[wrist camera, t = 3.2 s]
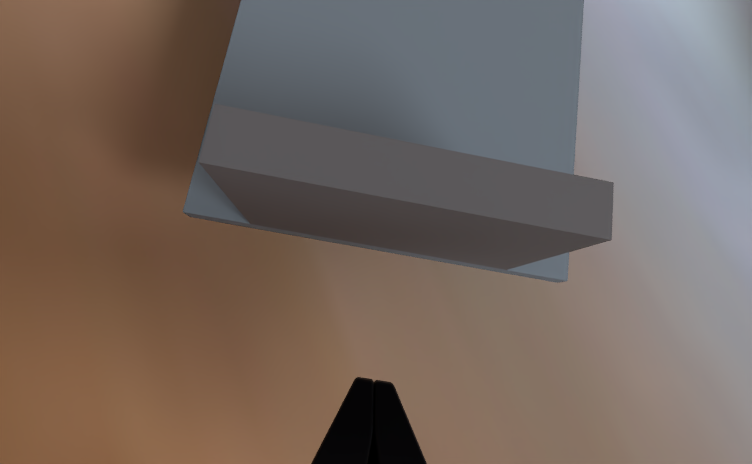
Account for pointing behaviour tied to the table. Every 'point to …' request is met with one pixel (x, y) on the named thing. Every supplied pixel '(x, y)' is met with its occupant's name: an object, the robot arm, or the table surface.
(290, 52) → the lid
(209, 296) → the table surface
